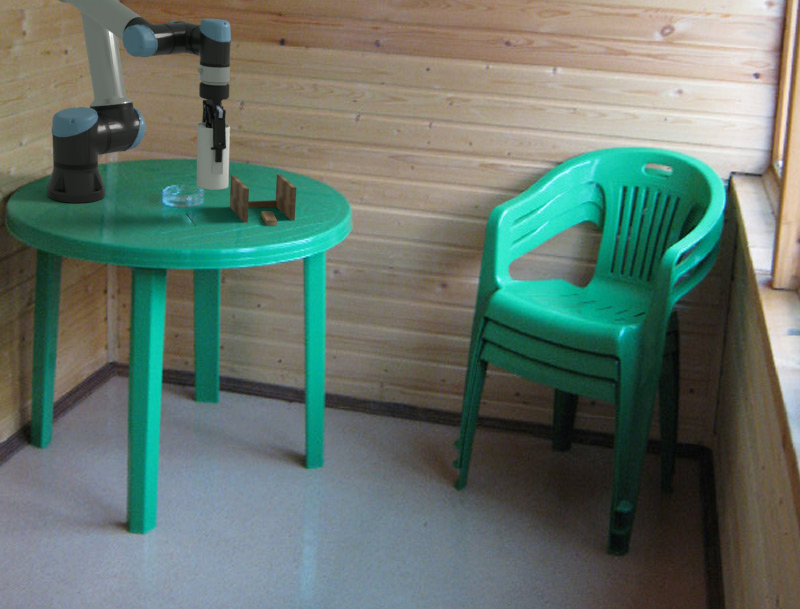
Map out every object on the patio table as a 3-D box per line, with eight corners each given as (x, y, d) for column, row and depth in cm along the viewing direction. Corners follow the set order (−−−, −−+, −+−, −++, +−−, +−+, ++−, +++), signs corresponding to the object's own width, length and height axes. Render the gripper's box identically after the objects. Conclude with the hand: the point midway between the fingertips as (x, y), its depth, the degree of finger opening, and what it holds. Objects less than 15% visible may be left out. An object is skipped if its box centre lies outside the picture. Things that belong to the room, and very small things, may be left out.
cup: (193, 181, 279) (194, 121, 273) (224, 181, 282) (225, 121, 277) (200, 190, 272) (201, 128, 266) (231, 189, 275) (233, 128, 270)
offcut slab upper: (266, 225, 277) (266, 220, 276) (261, 216, 284) (261, 211, 284) (276, 226, 277) (277, 220, 277) (271, 216, 285) (272, 211, 285)
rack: (229, 210, 290) (230, 175, 286) (278, 208, 295) (280, 173, 292) (243, 225, 278) (245, 189, 274) (294, 223, 283) (296, 187, 280)
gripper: (190, 74, 275) (189, 160, 283) (210, 89, 257) (208, 180, 265) (218, 75, 278) (216, 159, 286) (240, 90, 260) (237, 179, 268)
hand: (212, 169), depth 276 cm, fingers closed on cup, 8 cm apart
